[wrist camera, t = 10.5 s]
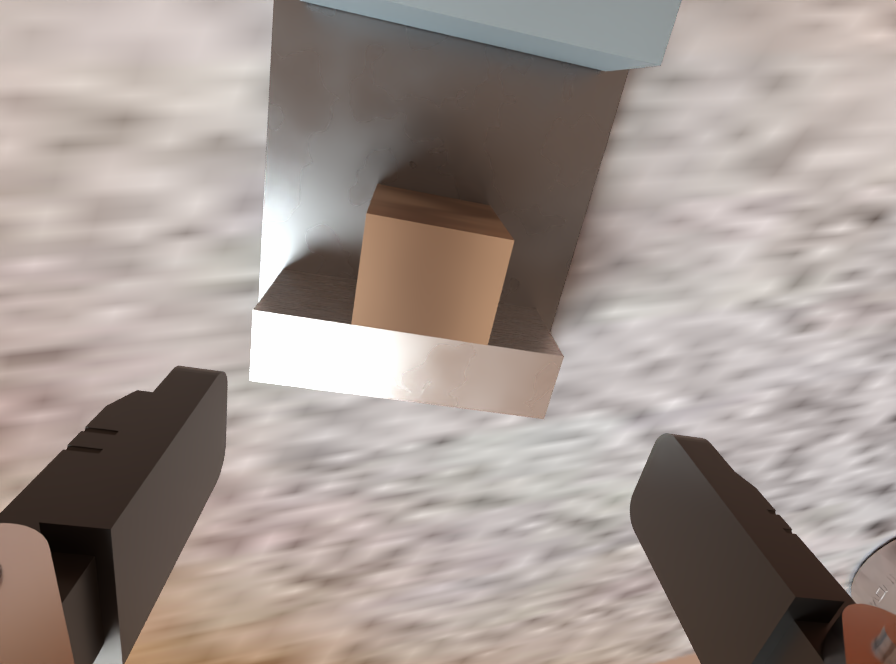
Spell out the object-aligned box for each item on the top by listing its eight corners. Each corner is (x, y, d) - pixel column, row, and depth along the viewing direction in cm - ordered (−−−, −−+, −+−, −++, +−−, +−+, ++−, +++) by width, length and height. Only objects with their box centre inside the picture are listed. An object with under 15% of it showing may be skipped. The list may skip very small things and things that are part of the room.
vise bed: (706, -258, 19) (859, -439, 12) (524, 372, 29) (556, 450, 23) (308, -391, 17) (246, -686, 10) (266, 335, 27) (222, 409, 21)
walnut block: (490, 205, 23) (514, 240, 18) (470, 289, 25) (487, 345, 19) (377, 183, 22) (366, 213, 17) (364, 271, 24) (351, 324, 18)
